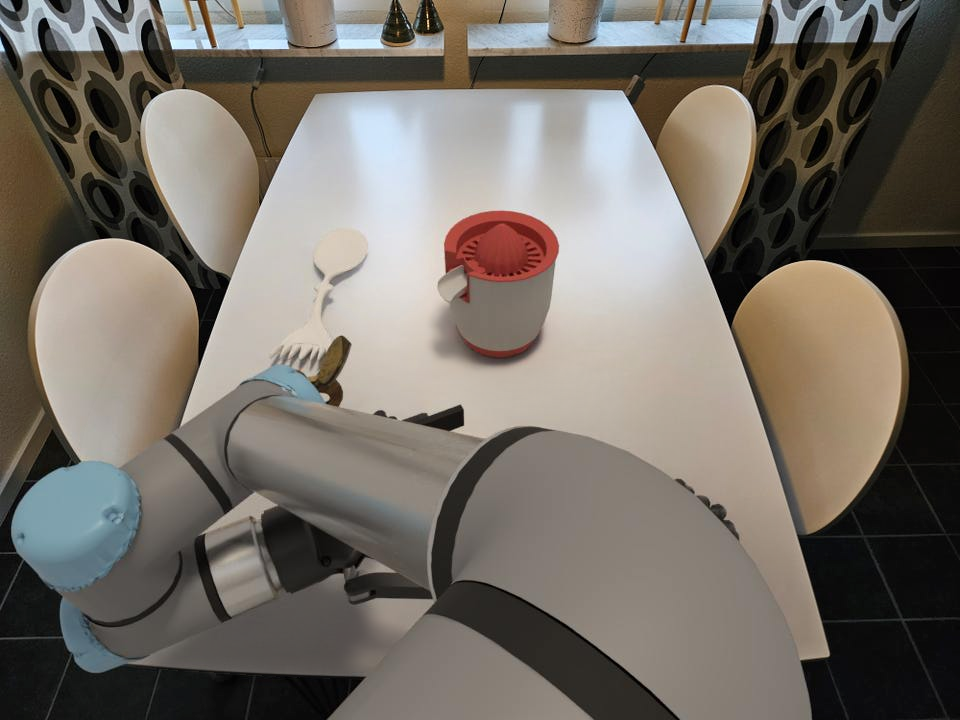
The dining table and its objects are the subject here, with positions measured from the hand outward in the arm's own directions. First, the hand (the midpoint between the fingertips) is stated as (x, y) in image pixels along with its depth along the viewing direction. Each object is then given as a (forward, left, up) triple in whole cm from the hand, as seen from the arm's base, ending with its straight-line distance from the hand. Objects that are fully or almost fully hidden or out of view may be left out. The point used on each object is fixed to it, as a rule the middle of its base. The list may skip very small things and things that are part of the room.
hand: (492, 465), depth 62 cm
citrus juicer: (+34, -10, -18) cm, 40 cm away
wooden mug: (+21, +18, -18) cm, 33 cm away
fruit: (-6, -23, -18) cm, 30 cm away
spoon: (+49, +13, -18) cm, 54 cm away
